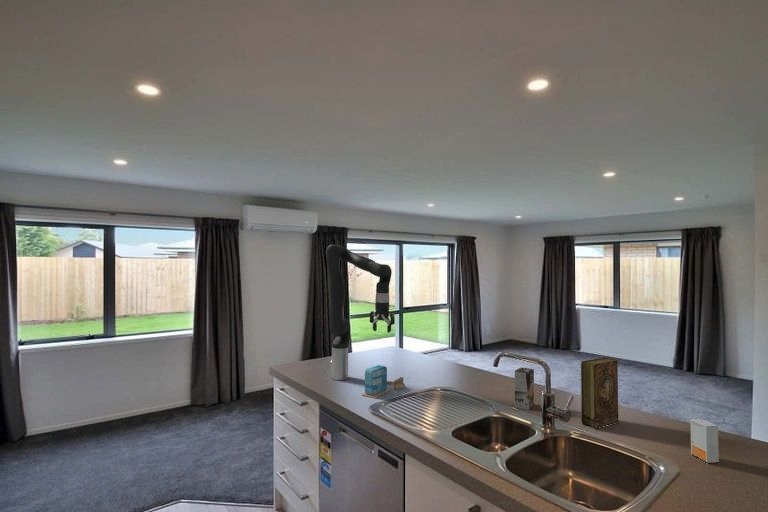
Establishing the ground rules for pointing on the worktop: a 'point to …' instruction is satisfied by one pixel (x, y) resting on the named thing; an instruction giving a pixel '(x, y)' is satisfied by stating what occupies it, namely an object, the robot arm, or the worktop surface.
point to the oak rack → (397, 383)
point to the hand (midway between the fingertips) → (381, 331)
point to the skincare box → (704, 440)
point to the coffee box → (524, 388)
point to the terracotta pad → (375, 394)
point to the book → (599, 392)
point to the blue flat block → (375, 379)
